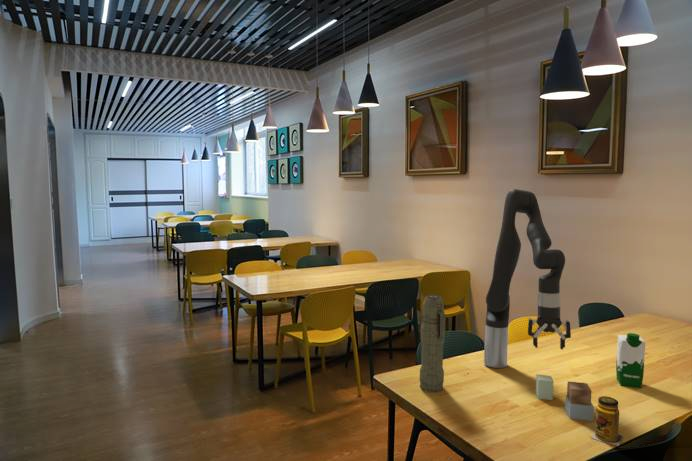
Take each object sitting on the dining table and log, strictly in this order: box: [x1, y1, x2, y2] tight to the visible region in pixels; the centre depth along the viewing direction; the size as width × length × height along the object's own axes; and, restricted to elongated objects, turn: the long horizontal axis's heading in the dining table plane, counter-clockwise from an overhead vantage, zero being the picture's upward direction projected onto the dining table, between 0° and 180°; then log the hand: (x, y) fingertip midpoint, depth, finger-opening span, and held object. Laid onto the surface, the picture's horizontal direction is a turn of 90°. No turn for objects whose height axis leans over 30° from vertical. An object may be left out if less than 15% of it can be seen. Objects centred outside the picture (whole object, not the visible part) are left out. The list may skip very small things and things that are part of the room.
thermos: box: [419, 294, 447, 393], centre depth 173 cm, size 9×12×35 cm
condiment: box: [590, 395, 625, 447], centre depth 139 cm, size 7×8×12 cm
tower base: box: [564, 394, 595, 422], centre depth 153 cm, size 7×7×5 cm
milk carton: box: [615, 332, 646, 389], centre depth 179 cm, size 9×9×20 cm
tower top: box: [566, 380, 593, 406], centre depth 153 cm, size 6×6×5 cm
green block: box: [535, 374, 554, 401], centre depth 167 cm, size 5×5×7 cm
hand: (548, 347), depth 169 cm, fingers open, 8 cm apart
